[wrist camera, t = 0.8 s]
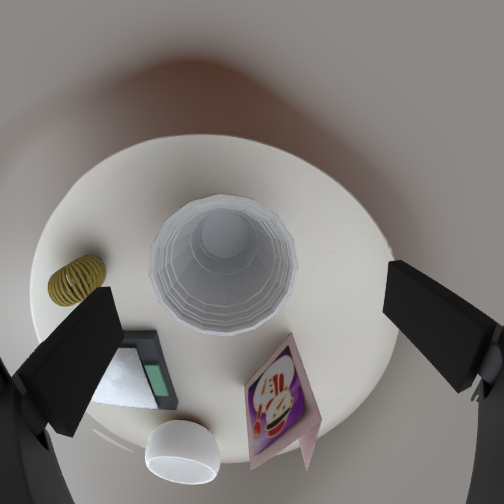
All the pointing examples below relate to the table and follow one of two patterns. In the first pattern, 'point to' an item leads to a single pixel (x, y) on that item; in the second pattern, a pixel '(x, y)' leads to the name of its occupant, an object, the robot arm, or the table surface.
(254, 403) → the greeting card
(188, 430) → the cup
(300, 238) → the table surface
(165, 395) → the scale
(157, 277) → the plastic cup
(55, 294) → the sculpture
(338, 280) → the table surface
